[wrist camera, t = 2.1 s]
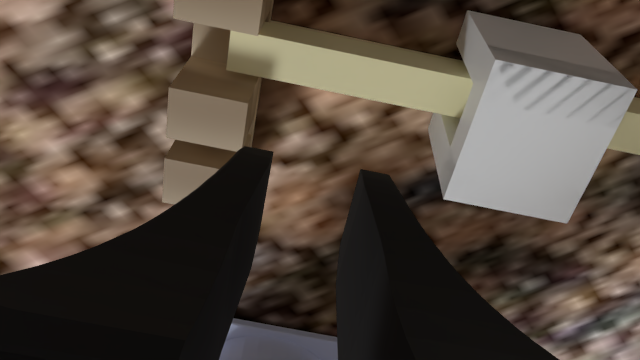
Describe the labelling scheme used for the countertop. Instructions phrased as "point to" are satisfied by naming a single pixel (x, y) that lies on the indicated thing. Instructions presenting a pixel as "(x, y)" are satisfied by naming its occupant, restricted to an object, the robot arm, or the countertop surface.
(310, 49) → the pale yellow bar
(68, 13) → the countertop surface
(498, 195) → the sleeve
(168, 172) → the comb
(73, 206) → the countertop surface
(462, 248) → the countertop surface
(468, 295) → the robot arm
